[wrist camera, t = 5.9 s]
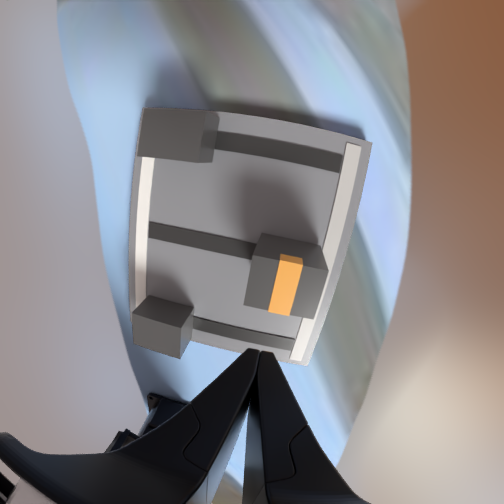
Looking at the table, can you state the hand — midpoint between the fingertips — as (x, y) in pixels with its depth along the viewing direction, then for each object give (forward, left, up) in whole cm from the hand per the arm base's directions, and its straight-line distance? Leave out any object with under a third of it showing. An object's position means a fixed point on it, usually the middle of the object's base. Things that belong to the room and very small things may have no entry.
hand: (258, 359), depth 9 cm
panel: (0, +3, -12) cm, 13 cm away
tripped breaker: (0, -1, -11) cm, 11 cm away
